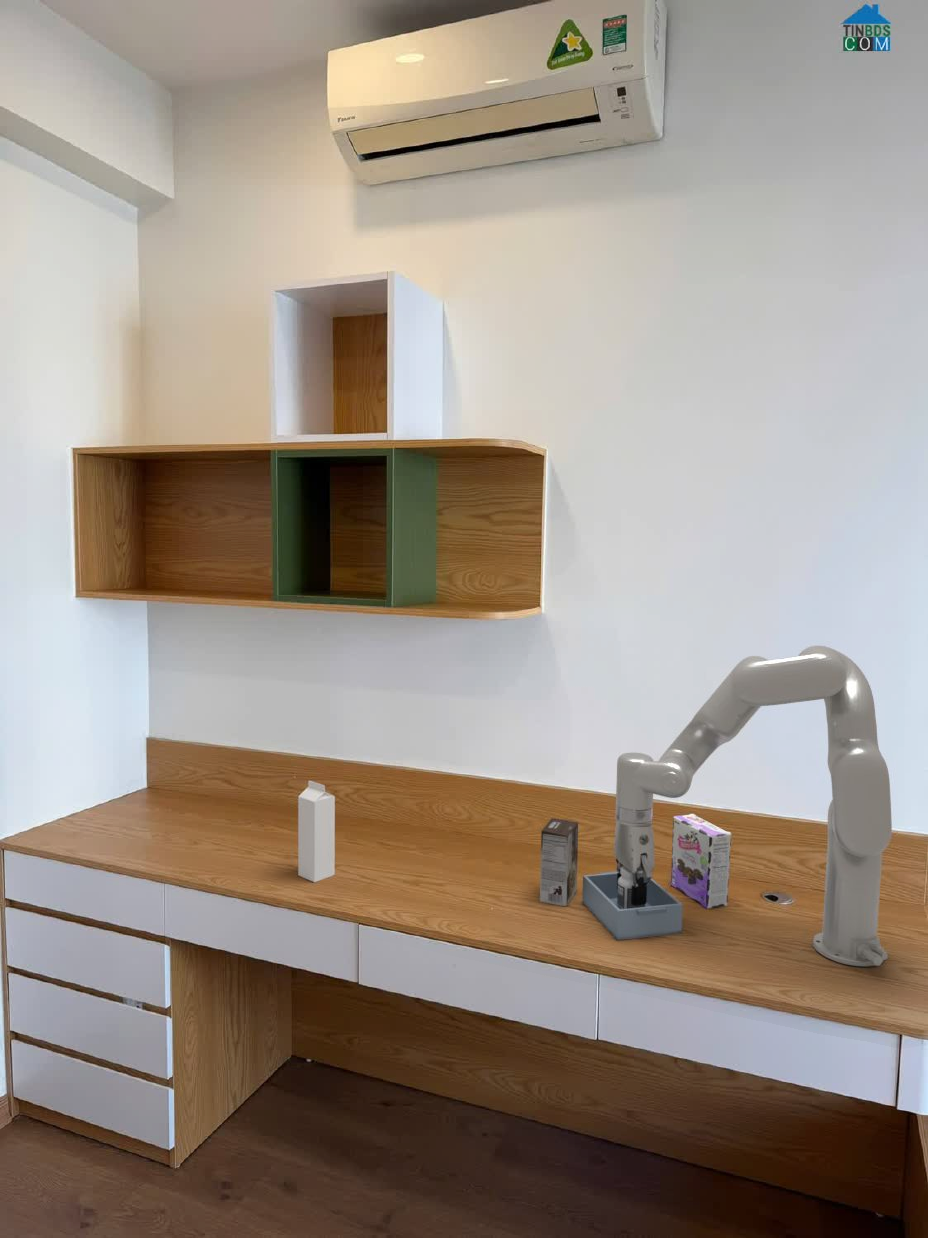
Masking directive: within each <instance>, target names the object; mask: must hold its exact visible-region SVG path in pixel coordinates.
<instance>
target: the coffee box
mask: <svg viewBox="0 0 928 1238" xmlns="http://www.w3.org/2000/svg"><path fill="white" fill-rule="evenodd" d="M540 835H541V838H540V839H541V840H540V841H541V842H540V847H541V848H540V881H539V902H540V903H545V904H551V905H558V906H561V907H568V905H569V904H570V902H571V901H572V899H573V897H574V895H575V894H576V893H577V892H578V855H579V851H578V849H579V846H578V845H579V821H573V820H572V821H570V820H567V819H562V818H555V817H554V818H553V817H552V818H551V819H550V820H549V821H548V822H547V824H545V826H543V828H542V829H541V834H540Z"/></svg>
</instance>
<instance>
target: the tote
mask: <svg viewBox="0 0 928 1238" xmlns="http://www.w3.org/2000/svg"><path fill="white" fill-rule="evenodd" d="M617 873H619V872H617V870H616V871H615V870H613V871H607V872H606V871H605V872H603V871H602V872H598V873H597V874H587V875H582V893H581V894H582V895H581V897H582V898H581V901H582V904H583V905H584V906H585V907H586V908H587V909H588V911H589V912H591V914H592V915H593V916H594V917H595V918H596V919H597V920H598V921H599V922H600V923H601V924H602V926H603V927H604V928H605V929H606V930H607V931H608V932H609V933H610V934H611V935H612V936H613V937H614V938H615V939H616V941H623V940H630V939H631V940H632V939H642V938H650V937H659V936H668V935H677V934H682V933H683V931H682V930H683V929H682V928H683V912H684V910H683V907H684V905H683V903H682V902H680V901H679V900H678V899H677V898H676V897H675V896H674V895H672V894H671V893H670V892H668V891H667V890H666V889H665V888H664V887H663V886H661V885H660V884H659V883H658V882H656V881H655V880H654V879H653V877H652V878H651V879H650V881H649V883H648V886H647V902H646V904H645V907H639V908H629V909H619V908H618V907H617V896H618V891H617Z"/></svg>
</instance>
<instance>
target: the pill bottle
mask: <svg viewBox="0 0 928 1238" xmlns="http://www.w3.org/2000/svg"><path fill="white" fill-rule="evenodd" d="M640 870H642V868H637V871H640ZM620 873H621V875H622V876H621V877H620V878H619V879H618V896H617V907H618V908H619V909H629V908H639V907H645V904H643V905H632V904H631V890H632V886H634V884H633V877H632V872H631V871H630V870H629V869H627V868H626V867H625V866H624V865H623V866H621V870H620ZM640 877H642V874H637V878H638V879H639V878H640Z"/></svg>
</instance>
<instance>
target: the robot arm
mask: <svg viewBox="0 0 928 1238" xmlns="http://www.w3.org/2000/svg"><path fill="white" fill-rule="evenodd" d="M817 700H819V701H820V700H823V701H824V704H825V705H824V706H825V717H826V724H827V741H828V742H827V745H828V748H827V768H828V771H829V774H830V780H831V781H830V782H831V794H832V799H831V801H830V804H829V806H828V811H827V846H826V847H827V850H826V865H825V881H824V882H825V883H824V900H823V915H822V916H823V917H822V932H819V933H817V934H815V935H814V936H813V939H812V940H813V944H812V945H813V947H814V949H815V950H816V951H817V952H818V953H819V954H820V955H822V956H824V958H825V957H826V958H827V959H830V960H832V961H834V962H836V963H839V964H843V965H847V966H848V965H849V966H854V967H864V968H865V967H874V966H877V967H878V966H881V964H883V962H884V961H885V960H887V959H888V958H889V954H888V953H887V952H886V951H885V950H884V948H883V946H881V938H880V937H878V924H879V923H878V921H879V908H880V894H881V893H880V891H881V877H882V866H883V865H882V862H883V852H884V851H885V850H886V849H887V848H888V846H889V844H890V842H891V840H892V839H891V838H892V834H893V833H892V832H893V831H892V830H893V829H892V825H893V824H892V806H891V805H892V803H891V802H892V801H891V783H890V775H889V769H888V765H887V762H886V760H885V757H883V755H882V753H881V751H880V749H879V742H878V741H879V740H878V727H877V725H878V724H877V719H876V718H877V717H876V708H875V701H874V695H873V691H872V689H871V685H870V683H869V681H868V679H867V677H866V676H865V674H864V673H863V671H862V669H861V668H860V667H859V666H858V665H857V664H856V663H855V662H854V660H852V659H851V658H850V657H848V656H847V655H845V654H844V653H842V652H840V651H838V650H836V649H834V648H831V647H829V646H825V645H811V646H809V647H806V648H804V649H803V650H802V651H801V652H799V654H798V655H797V656H790V657H784V658H777V659H768V658H765V657H763V656H760V655H751V656H747V657H745V658H743V659H741V660H740V661H739V662H738V663H737V664H736V666H734V667H733V669H732V670H731V671H730V672H729V673H728V674H727V676H726V677H725V679H724V680H723V681H722V682H721V683H720V685H718V687H717V688H716V689H715V690H714V692H713V693H712V695H710V697H709V698H708V699H707V700H706V701H705V703H704V704H703V705H702V706H701V707H700V708H699V709H698V711H697V712H696V713H695V715H694V716H693V718H692V719H691V720H690V722H689V723H688V724H687V725H686V726H685V727H684V729H683V730H682V731H681V732H680V733H679V734H678V735H677V737H676V738H675V739H674V740H673V742H672V743H671V744H670V745H669V747H668V748H666V750H665V751H664V753H663V754H662V755H661V756H660V758H659V760H656V761H655V760H654V759H653V757H652V756H651V755H648V754H646V753H642V752H625V753H622V754H620V756H619V757H618V758H617V761H616V762H617V763H616V784H615V785H616V787H615V788H616V790H615V791H616V792H615V793H616V794H615V822H616V823H615V831H614V843H613V844H614V845H613V846H614V847H613V848H614V849H613V852H614V857H615V861H616V871H617V872H619V873H617V891H618V879H619V878H620V877H621V876H622V875H621V873H620V870H621V866H623V865H624V866H625V867H626V868H627V869H629V870H630V871H631V872H632V877H633V884H634V886H632V890H631V904H632V905H643V904H646V902H647V886H648V883H649V881H650V879H651V878H652V879H653V872H654V870H655V837H654V829H653V824H652V823H653V810H654V809H653V808H654V795H655V796H656V795H657V796H660V797H664V798H669V799H670V798H671V799H677V798H681V797H683V796H685V795H686V794H687V793H688V791H689V790H690V789H691V785H692V781H693V777H694V776H695V774H696V773H697V771H698V770H699V769H700V768H701V767H702V765H704V763H705V762H706V761H707V759H709V757H710V756H711V755H712V754H713V753H714V752H715V751H716V750H717V749H718V748H720V747H721V746H722V745H724V744H727V743H729V742H730V741H732V740H733V739H734V738H736V736H737V735H739V733H740V731H741V730H742V729H743V728H744V727H745V726H746V725H747V723H748V722H749V721H750V720H751V719H752V717H753V716H754V715H755V714H756V713H757V712H758V711H759V709H760V708H762V707H768V706H779V705H787V704H788V705H789V704H793V703H794V704H795V703H802V702H811V701H817ZM637 868H642V870H640V871H637ZM637 874H642V877H640V878H639V879H638V878H637Z"/></svg>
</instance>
